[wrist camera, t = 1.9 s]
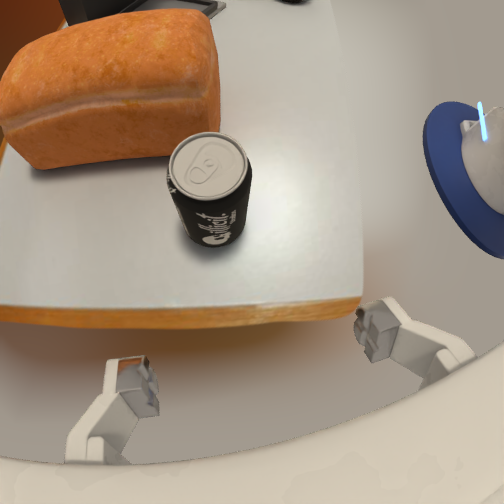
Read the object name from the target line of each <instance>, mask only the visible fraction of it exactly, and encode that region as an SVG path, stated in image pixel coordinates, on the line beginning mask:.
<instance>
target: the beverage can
mask: <svg viewBox="0 0 504 504" xmlns="http://www.w3.org/2000/svg"><path fill="white" fill-rule="evenodd" d="M251 180H252V168H251V165H250V162H249V159H248V158H247V156H246V153H245V151H244V149H243V148H242V146H241V145H240V144H239V143H238V142H237V141H236V140H235V139H233V138H231V137H230V136H228V135H225V134H222V133H218V132H203V133H198V134H195V135H192V136H190V137H188V138H187V139H185V140H184V141H182V142H181V143H180V144H179V145H178V146H177V147H176V148H175V150H174V151H173V153H172V155H171V158H170V162H169V167H168V170H167V185H168V189H169V191H170V194H171V196H172V199H173V201H174V204H175V206H176V209H177V211H178V214H179V216H180V218H181V221H182V223H183V226H184V228H185V230H186V232H187V234H188V235H189V237H190V238H191V239H192V240H193V241H195V242H196V243H198V244H200V245H202V246H205V247H211V248H216V247H222V246H225V245H228V244H230V243H231V242H233V241H234V240H235V239H236V238H237V237H238V236H239V235H240V234H241V232H242V230H243V228H244V225H245V221H246V214H247V207H248V200H249V194H250V187H251Z"/></svg>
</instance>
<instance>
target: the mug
mask: <svg viewBox="0 0 504 504" xmlns="http://www.w3.org/2000/svg"><path fill="white" fill-rule="evenodd" d="M282 1H285V2H290V3H299V2H302V1H303V0H282Z"/></svg>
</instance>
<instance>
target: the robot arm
mask: <svg viewBox="0 0 504 504" xmlns="http://www.w3.org/2000/svg"><path fill="white" fill-rule="evenodd" d="M478 110H479V117H480V119H479V120H478V121H470V120H464V121H463V122H461V123H460V129H461V133H462V137H463V139H462V146H461V152H462V159H463V163H464V166H465V169H466V171H467V174H468V176H469V178H470V180H471V182H472V184H473V186H474V187H475V189H476V190H477V192H478V193H479V195H480V196H481V197H482V199H483V200H484V201H485V202H486V203H487V204H488V205H489V206H490V207H491V208H492V209H493V210H495V211H496V212H498V213H500V214H503V215H504V108H502V107H493V108H492V109H491V110H490V111H489V112H487V113H486V114H485V115H484V116H483V110H482V105H481V102H479V103H478ZM356 315H357V317H358V318H357V319H356V321H355V322H354V333H355V336H356V339H357V341H358V343H359V344H361V345H363V346H365V351H364V352H365V354H366V355H367V357H368V359H369V360H370V362H371V363H375V362H377V361H380V360H383V359H386V358H389V357H390V359H392V360H394V361H395V362H397V363H399V364H400V365H402V366H404V367H405V368H407V369H409V370H410V371H412V372H414V373H415V374H417V375H419V376H420V377H422V378H424V379H423V382H422V383H421V385H420V387H419V390H418V391H417V392H415V393H413V394H411V395H408V396H407V397H404V398H402V399H400V400H398V401H395V402H393V403H391V404H389V405H386V406H384V407H382V408H379V409H377V410H374V411H372V412H369V413H367V414H364V415H362V416H359V417H357V418H354V419H351V420H349V421H346V422H343V423H340V424H338V425H335V426H332V427H329V428H326V429H323V430H320V431H316V432H313V433H310V434H307V435H304V436H300V437H296V438H293V439H289V440H286V441H282V442H278V443H274V444H270V445H266V446H262V447H258V448H253V449H249V450H244V451H239V452H234V453H229V454H223V455H217V456H211V457H204V458H198V459H191V460H182V461H173V462H163V463H150V464H135V465H134V464H133V465H132V464H131V463H130V462H129V461H128V460H127V459H126V458H124V457H123V456H122V455H121V452H122V451H123V449H124V447H125V445H126V443H127V441H128V439H129V437H130V436H131V434H132V432H133V430H134V428H135V426H136V425H137V423H138V421H139V418H145V417H153V416H159V401H158V399H157V397H156V395H157V393H158V392H159V391H158V381H157V377H156V374H155V372H154V370H153V369H152V368H151V367H149V360H148V359H147V357H146V356H145V355H143V356H135V357H127V358H120V359H112V360H108V361H107V363H106V369H105V376H104V383H103V392H102V394H100V395H98V396H97V398H96V399H95V400H94V402H93V403H92V404H91V406H90V407H89V408H88V409H87V410H86V412H85V413H84V414H83V415H82V417H81V418H80V419H79V421H78V422H77V423H76V424H75V426H74V427H73V428H72V430H71V431H70V432H69V434H68V435H67V439H66V449H65V457H64V464H59V463H48V462H38V461H30V460H23V459H16V458H10V457H4V456H0V504H504V341H503V342H501V343H500V344H498V345H497V346H495V347H494V348H492V349H491V350H489V351H488V352H486V353H484V354H483V355H481V356H480V357H477V356H476V355H475V353H474V352H473V351H472V350H471V349H470V348H469V346H468V345H467V344H466V343H465V341H464V340H463V339H462V338H460V337H457V336H455V335H452V334H450V333H447V332H445V331H442V330H440V329H438V328H435V327H433V326H430V325H427V324H425V323H423V322H420V321H418V320H412V319H411V318H410V317H409V316H408V314H407V313H406V312H405V311H404V310H403V308H402V307H401V306H400V305H399V304H398V303H397V302H396V300H395V299H394V298H393V297H391V296H389V297H386V298H383V299H380V300H376V301H373V302H370V303H367V304H364V305H361V306H358V307H357V309H356Z"/></svg>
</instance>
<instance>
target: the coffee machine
mask: <svg viewBox="0 0 504 504" xmlns="http://www.w3.org/2000/svg"><path fill="white" fill-rule="evenodd" d="M59 3H60V5H61V8H62V10H63V13H64V15H65V18H66V20H67V23H68V25H69V27H70V26H72V25H75V24H79V23H83V22H88V21H92V20H96V19H100V18H104V17H108V16H112V15H116V14H122V13H129V12H137V11H146V10H156V9H173V8H178V9H196V10H199V11H201V12H202V13H203V14H205V15H206V16H207V17H208V18H209V20H210V19H211V18H212V17H213V16H215V15H216V14H217V13H218V12H220V11H221V10H222V9H224V8H225V7H226V3H224V2H219V1H215V0H59Z"/></svg>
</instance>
